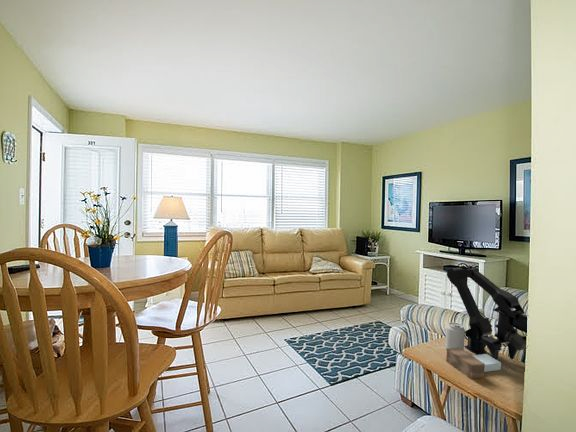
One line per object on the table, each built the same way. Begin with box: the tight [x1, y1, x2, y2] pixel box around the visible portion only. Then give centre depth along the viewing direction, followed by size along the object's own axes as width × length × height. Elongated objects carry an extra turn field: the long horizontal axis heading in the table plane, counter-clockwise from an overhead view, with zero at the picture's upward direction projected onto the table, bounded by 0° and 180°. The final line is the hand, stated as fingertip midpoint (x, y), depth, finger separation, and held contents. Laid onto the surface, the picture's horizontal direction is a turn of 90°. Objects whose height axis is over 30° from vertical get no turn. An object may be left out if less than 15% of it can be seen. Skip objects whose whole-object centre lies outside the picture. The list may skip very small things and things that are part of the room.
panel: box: [472, 353, 502, 373], centre depth 127 cm, size 7×12×3 cm, turn 103°
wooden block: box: [445, 347, 485, 380], centre depth 125 cm, size 13×6×6 cm, turn 14°
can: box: [444, 321, 466, 351], centre depth 140 cm, size 8×8×12 cm
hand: (503, 360), depth 130 cm, fingers open, 8 cm apart
